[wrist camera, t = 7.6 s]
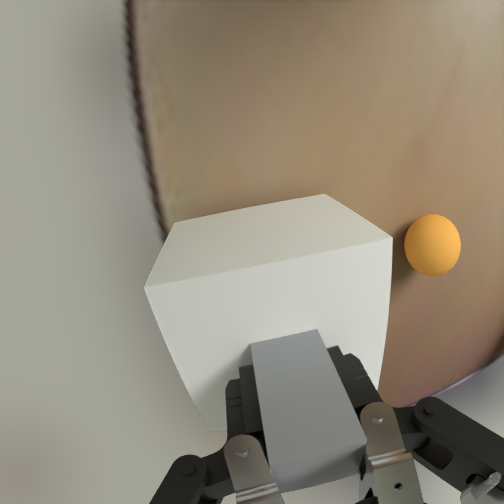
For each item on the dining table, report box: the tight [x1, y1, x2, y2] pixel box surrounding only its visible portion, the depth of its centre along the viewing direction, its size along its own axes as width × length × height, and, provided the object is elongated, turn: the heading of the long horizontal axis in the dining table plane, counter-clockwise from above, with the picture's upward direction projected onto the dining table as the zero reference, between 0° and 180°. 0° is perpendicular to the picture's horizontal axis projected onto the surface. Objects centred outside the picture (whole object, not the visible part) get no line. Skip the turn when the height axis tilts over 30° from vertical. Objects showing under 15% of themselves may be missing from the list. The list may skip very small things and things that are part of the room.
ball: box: [404, 214, 461, 276], centre depth 21 cm, size 5×5×5 cm
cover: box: [143, 194, 393, 493], centre depth 14 cm, size 10×10×15 cm
